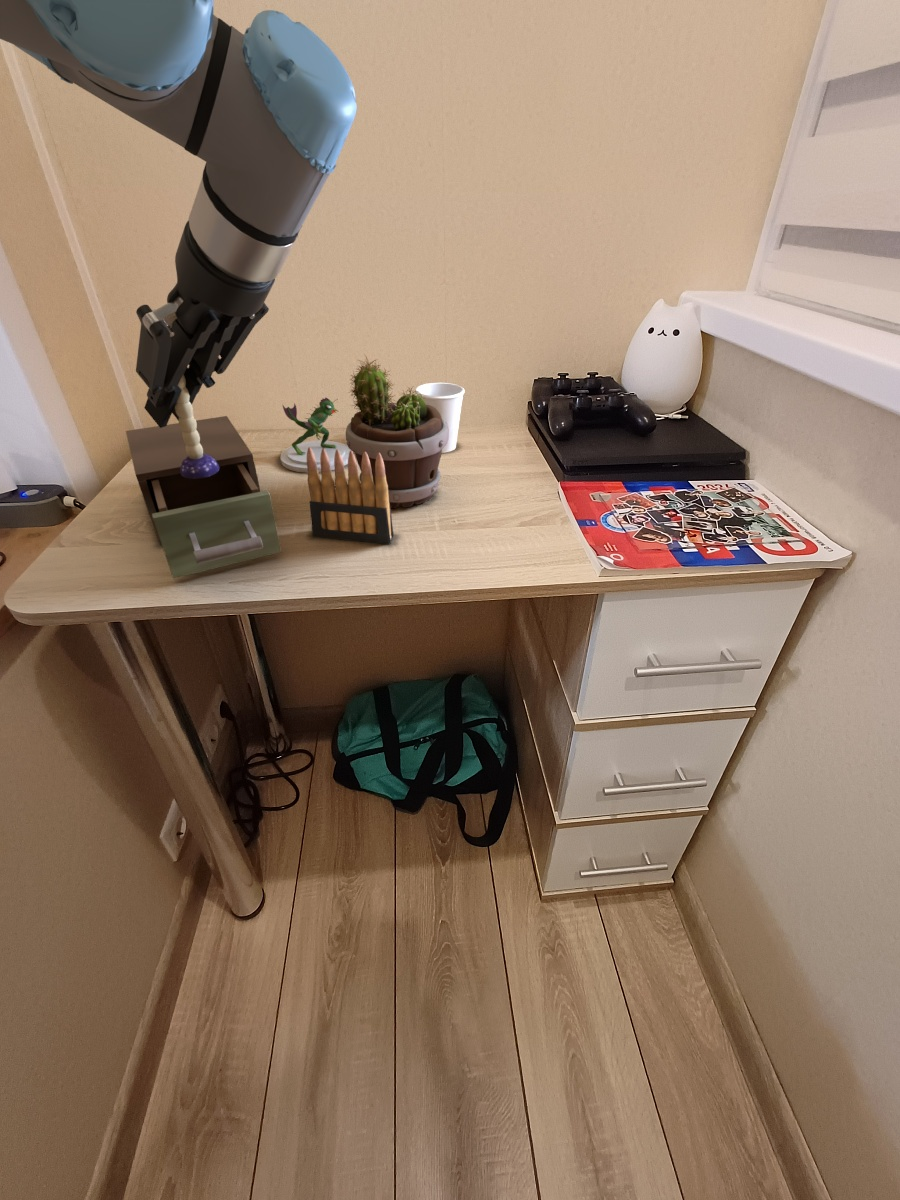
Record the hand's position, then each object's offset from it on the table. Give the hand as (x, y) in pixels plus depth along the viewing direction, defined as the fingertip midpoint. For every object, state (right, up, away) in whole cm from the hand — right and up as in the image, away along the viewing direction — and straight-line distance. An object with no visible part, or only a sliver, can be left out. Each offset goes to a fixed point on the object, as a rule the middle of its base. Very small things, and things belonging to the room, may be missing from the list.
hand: (164, 413), depth 64 cm
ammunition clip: (+19, -13, +12) cm, 26 cm away
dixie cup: (+30, +6, +38) cm, 49 cm away
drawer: (+3, -14, +8) cm, 16 cm away
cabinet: (-3, -8, +18) cm, 20 cm away
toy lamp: (+3, -6, +2) cm, 7 cm away
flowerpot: (+25, -5, +22) cm, 34 cm away
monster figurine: (+9, +3, +33) cm, 35 cm away
